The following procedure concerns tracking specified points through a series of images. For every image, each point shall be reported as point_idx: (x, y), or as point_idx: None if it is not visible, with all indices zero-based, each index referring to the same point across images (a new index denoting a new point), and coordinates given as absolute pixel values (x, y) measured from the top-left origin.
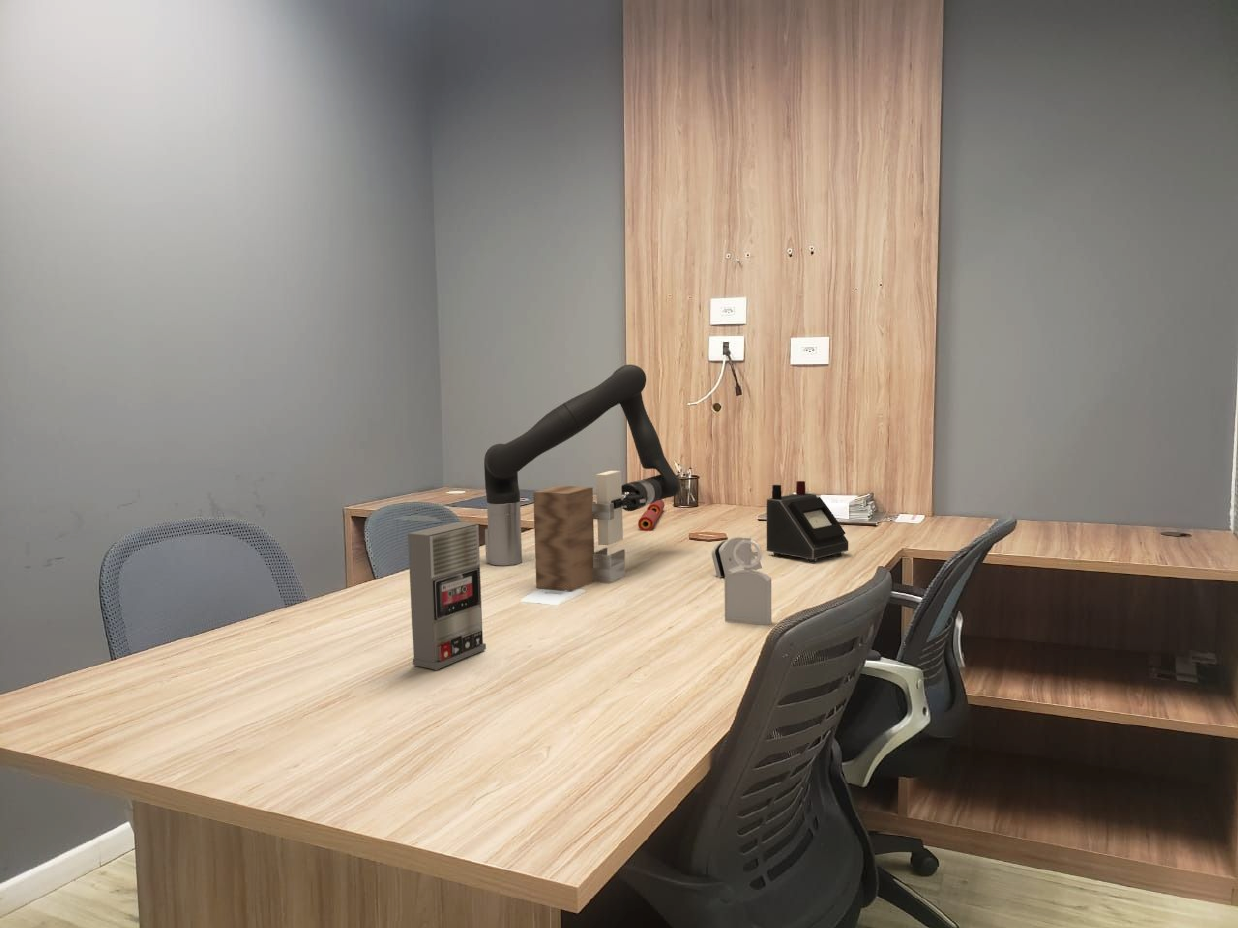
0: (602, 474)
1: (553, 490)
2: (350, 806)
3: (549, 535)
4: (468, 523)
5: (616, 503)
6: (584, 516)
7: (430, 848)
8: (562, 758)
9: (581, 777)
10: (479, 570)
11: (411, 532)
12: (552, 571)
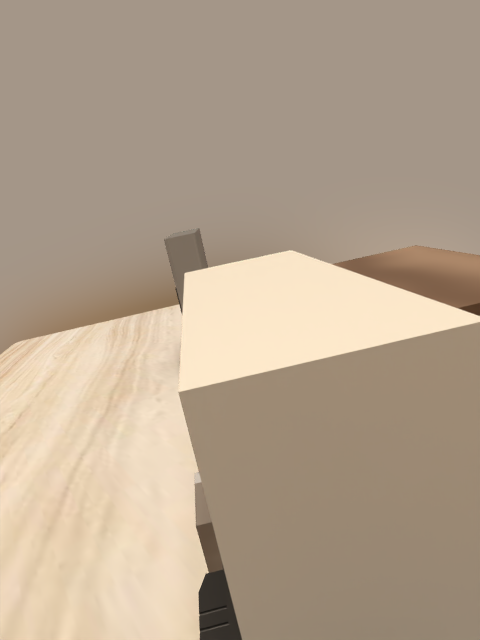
0: (235, 264)
1: (391, 265)
2: (122, 320)
3: None
4: (176, 236)
5: (207, 589)
6: None
7: (75, 328)
8: (44, 358)
9: (28, 357)
10: (177, 292)
11: (198, 228)
12: None
